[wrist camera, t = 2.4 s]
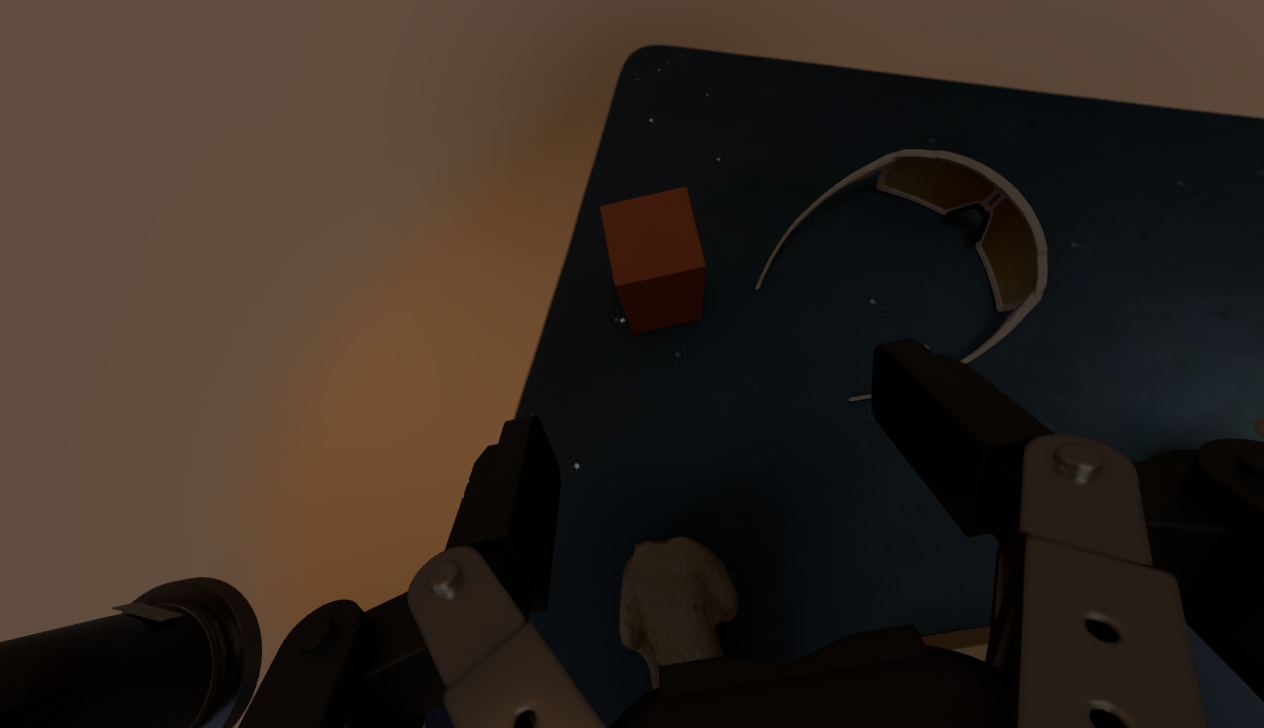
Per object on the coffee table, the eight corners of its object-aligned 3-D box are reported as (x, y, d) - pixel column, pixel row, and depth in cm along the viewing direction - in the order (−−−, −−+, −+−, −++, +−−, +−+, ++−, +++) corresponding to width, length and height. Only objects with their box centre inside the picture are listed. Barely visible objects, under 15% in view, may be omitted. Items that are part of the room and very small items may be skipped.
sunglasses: (1055, 295, 32) (1109, 270, 27) (863, 428, 33) (882, 427, 29) (904, 150, 35) (928, 105, 31) (736, 276, 37) (735, 252, 32)
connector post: (633, 334, 35) (614, 286, 26) (621, 271, 36) (599, 205, 27) (701, 319, 34) (705, 266, 26) (687, 257, 36) (686, 185, 27)
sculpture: (790, 765, 28) (713, 511, 31) (807, 832, 24) (715, 525, 26) (673, 790, 29) (607, 539, 32) (668, 859, 24) (591, 558, 27)
